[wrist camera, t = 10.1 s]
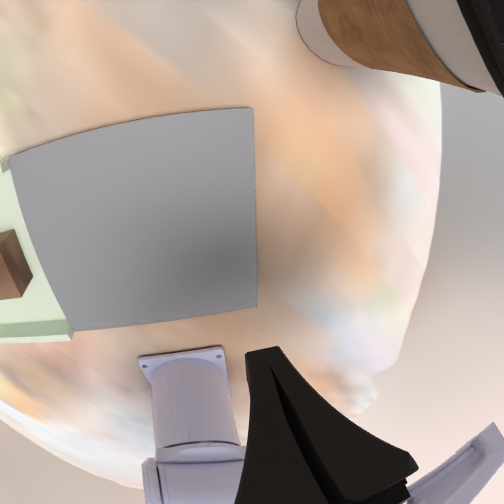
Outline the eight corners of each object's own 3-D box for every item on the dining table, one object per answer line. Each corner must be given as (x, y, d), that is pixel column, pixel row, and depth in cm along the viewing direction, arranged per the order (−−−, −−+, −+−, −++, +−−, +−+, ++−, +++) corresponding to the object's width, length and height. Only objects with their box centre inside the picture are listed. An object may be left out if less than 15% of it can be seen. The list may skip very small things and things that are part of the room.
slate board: (253, 296, 22) (257, 306, 21) (76, 321, 19) (73, 331, 18) (248, 107, 15) (253, 108, 14) (16, 153, 12) (8, 157, 11)
